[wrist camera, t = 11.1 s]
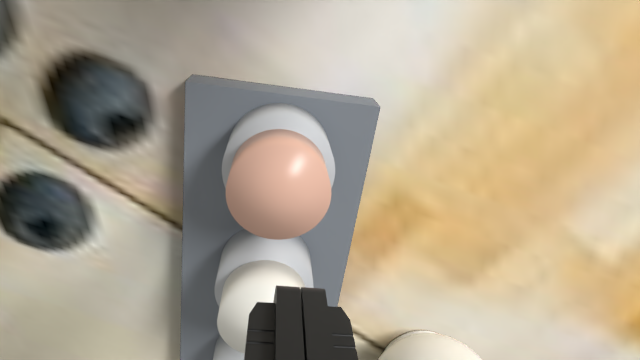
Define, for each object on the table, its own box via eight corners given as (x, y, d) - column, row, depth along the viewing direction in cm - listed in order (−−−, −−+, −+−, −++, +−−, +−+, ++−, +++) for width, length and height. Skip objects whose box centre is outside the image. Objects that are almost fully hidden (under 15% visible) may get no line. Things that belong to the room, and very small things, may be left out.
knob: (234, 123, 20) (228, 139, 18) (333, 134, 21) (339, 152, 19) (228, 211, 22) (222, 235, 20) (318, 219, 23) (322, 243, 21)
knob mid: (224, 257, 24) (219, 284, 22) (311, 263, 24) (314, 290, 22) (220, 323, 26) (214, 354, 24) (300, 327, 26) (301, 357, 24)
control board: (192, 74, 24) (172, 94, 20) (373, 98, 26) (393, 122, 21) (185, 358, 34) (170, 416, 29) (318, 363, 35) (324, 419, 31)
